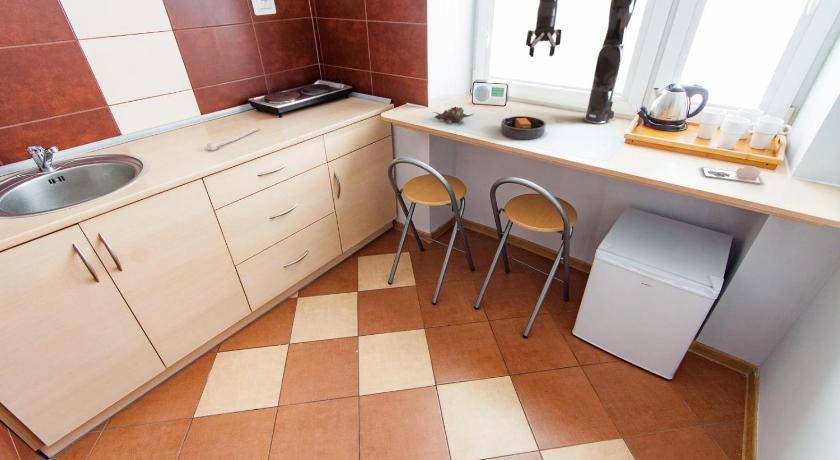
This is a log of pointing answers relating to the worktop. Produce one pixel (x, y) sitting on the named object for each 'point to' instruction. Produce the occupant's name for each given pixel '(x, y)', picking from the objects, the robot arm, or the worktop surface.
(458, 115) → the figurine
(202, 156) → the worktop surface
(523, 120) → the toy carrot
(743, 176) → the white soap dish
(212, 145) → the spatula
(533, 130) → the pan
